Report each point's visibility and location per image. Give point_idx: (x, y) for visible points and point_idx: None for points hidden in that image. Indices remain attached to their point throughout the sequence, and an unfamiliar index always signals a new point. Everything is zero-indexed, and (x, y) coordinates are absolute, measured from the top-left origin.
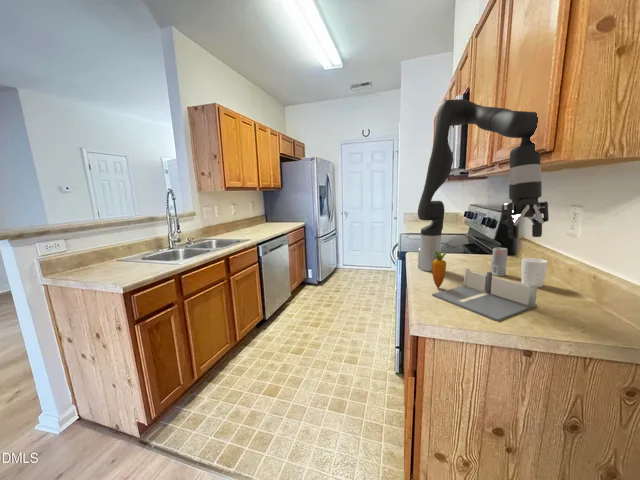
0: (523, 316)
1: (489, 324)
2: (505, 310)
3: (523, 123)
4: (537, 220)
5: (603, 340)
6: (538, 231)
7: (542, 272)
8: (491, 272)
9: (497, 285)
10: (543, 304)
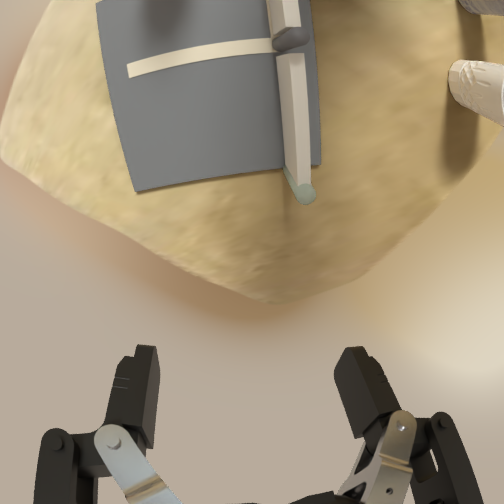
0: (221, 188)
1: (109, 194)
2: (198, 158)
3: None
4: (358, 462)
5: (256, 290)
6: (345, 396)
7: (488, 118)
8: (307, 39)
9: (284, 76)
10: (347, 163)
